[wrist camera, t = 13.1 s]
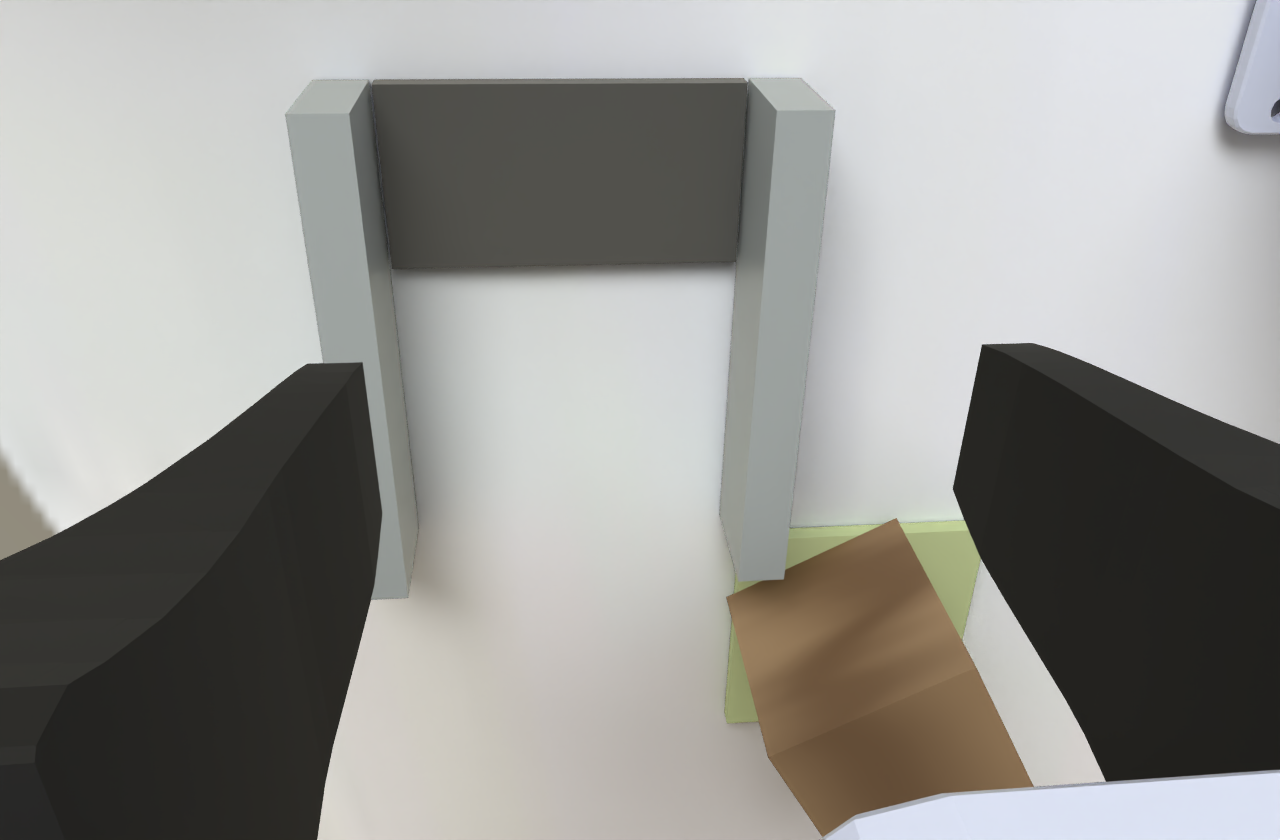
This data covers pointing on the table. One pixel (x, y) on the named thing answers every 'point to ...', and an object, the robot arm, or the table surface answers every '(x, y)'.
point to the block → (867, 683)
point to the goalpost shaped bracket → (573, 239)
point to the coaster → (934, 543)
